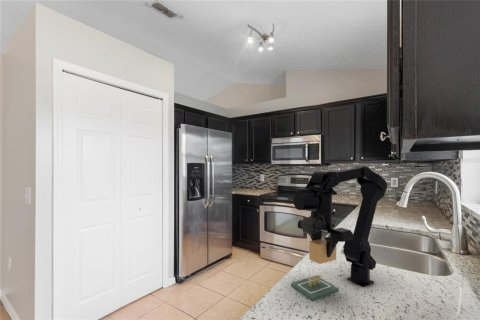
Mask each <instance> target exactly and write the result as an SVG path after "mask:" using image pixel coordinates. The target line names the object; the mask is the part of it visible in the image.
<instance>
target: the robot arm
mask: <svg viewBox="0 0 480 320" xmlns="http://www.w3.org/2000/svg"><path fill="white" fill-rule="evenodd" d="M352 180H356V183H357V184H358V185H359V186H360V193H361V196H362V199H361V202H360V203H361V204H360V207H359V211H358V215H357V218H356V222H355V226H354V230H353V232H352V230H351V229H347V228H343V227H338V228H335V223H333V215H334V216H335V213H336V212H335V211H333V196H336V195H338V192H337V191H335V189H334V188H335V187H337V186H339V184H341V183H343V182H348V181H352ZM387 190H388V182H387V181H386V179H385V178H383V176H381V174H378V173H376V172H375V171H373V170H371V168H370V167H368V166H366V165H365V166H364V165H363V166H362V165H361V166H360V165H356V166H354V167H350V168H345V169H339V170H334V171H330V170H329V171H326V170H325V171H324V170H323V171H322V170H315V171H313V172H312V174H311V177H310V179H309V181H308V182H307V185H305V188H297V191H296V193H295V194H294V195H293V198H292V199H293V200H292V202H293V206H294V208H295V209H296V210H297V211H304V210H305V211H306V210H311V212H310V216H308V217H306V218H303V219H299V220H298V221H297V229H301V230H302V232H303V233H306V234H307V235H308V236H309V237H310V240H311V241H313V240H318V239H322V235H323V234H322V233H325V234H328V235H327V236H324V237H323V238H324V239H325V240H326V243H327V257H328V258H329V257H330V256H331V254H332V252H333V250H334V248H335V247H336V248H337V245H338V243H339V242H340V243H341V242H342V243H344V244H343V246H342V248H343V250H342V251H343V254H344V257H345V260H346V262H348V263H350V276H349V277H347V280H348V281H350V282H352V283H354V284H355V285H357V286H360V287H362V288H365V287H367V286H370V285H373V284H375V281H374V280H371V274H370V273H371V271H373V270H374V269H376V266H377V265H376V264H377V261H376V260H375V258H373V256H372V255H371V253H372V252H371V251H372V247H371V244H370V242H369V237H370V232H371V229H372V225H373V223H374V222H373V221H374V217H375V213H376V209H377V204H378V202H379V201H380V200H381V199H382V198H383V197H385V194H386V192H387Z"/></svg>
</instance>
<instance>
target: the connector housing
mask: <svg viewBox="0 0 480 320" xmlns="http://www.w3.org/2000/svg"><path fill="white" fill-rule="evenodd" d="M308 243H309V245H308V246H309V249H308V250H309V251H308V252H309V256H308V257H309V260H310V261H312V262H314V263H316V264H319V265H321V264H325V263H329V262H333V261H336V260H337V246H336V247H335V248H334V250H333V252H332V254H331V256H330V257H329V258H328V257H327V243H326V240H325V239H324V237H322V238H321V239H318V240H313V241H312V240H309V242H308Z"/></svg>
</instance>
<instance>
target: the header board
mask: <svg viewBox="0 0 480 320" xmlns="http://www.w3.org/2000/svg"><path fill="white" fill-rule="evenodd" d="M290 287H292V288H293V289H295V291H297V292H298V293H300V294H301V295H303V296H305V298H307V299H309V300H310V301H311V302H314V301H317V300H318V299H321V298H325V297H328V296H330V295H333V294H335V293H338V292H339V287H337V286H335V285H334V284H331V283H330V282H328V281H326V280H324V279H323V278H321V276H320V274H317V275H313V276H310V277H307V278H304V279H299V280H298V281H294V282H291V283H290Z"/></svg>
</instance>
